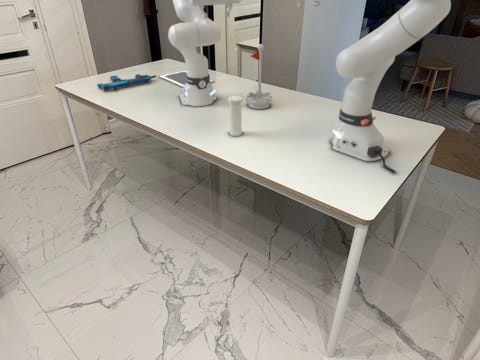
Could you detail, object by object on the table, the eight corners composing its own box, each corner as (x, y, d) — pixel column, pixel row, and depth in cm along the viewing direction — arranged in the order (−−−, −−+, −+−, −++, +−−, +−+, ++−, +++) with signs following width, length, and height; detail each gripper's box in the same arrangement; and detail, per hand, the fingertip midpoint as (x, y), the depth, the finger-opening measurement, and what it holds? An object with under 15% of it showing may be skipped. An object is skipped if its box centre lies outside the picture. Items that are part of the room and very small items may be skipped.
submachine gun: (141, 68, 224) (160, 75, 207) (142, 74, 226) (161, 81, 209) (89, 78, 205) (105, 86, 189) (91, 85, 207) (107, 93, 191)
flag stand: (265, 99, 183) (267, 40, 167) (275, 107, 173) (279, 45, 156) (242, 102, 179) (242, 42, 163) (252, 111, 169) (253, 48, 152)
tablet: (158, 76, 219) (158, 76, 219) (185, 70, 230) (185, 70, 230) (186, 88, 199) (186, 87, 198) (213, 81, 210) (213, 81, 209)
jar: (239, 130, 150) (239, 96, 142) (242, 135, 146) (242, 100, 138) (228, 131, 149) (227, 97, 141) (231, 136, 145) (230, 101, 137)
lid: (240, 99, 143) (240, 95, 142) (243, 103, 138) (244, 100, 137) (226, 100, 142) (226, 96, 141) (230, 105, 137) (230, 101, 136)
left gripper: (236, -25, 130) (236, 15, 138) (185, -24, 122) (188, 18, 130) (243, -25, 125) (243, 16, 133) (191, -23, 118) (194, 20, 125)
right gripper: (297, -35, 119) (294, 9, 127) (336, -36, 129) (331, 5, 137) (285, -35, 124) (283, 7, 131) (324, -36, 134) (319, 4, 141)
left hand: (216, 17), depth 131 cm, fingers open, 8 cm apart
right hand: (308, 6), depth 134 cm, fingers open, 8 cm apart
